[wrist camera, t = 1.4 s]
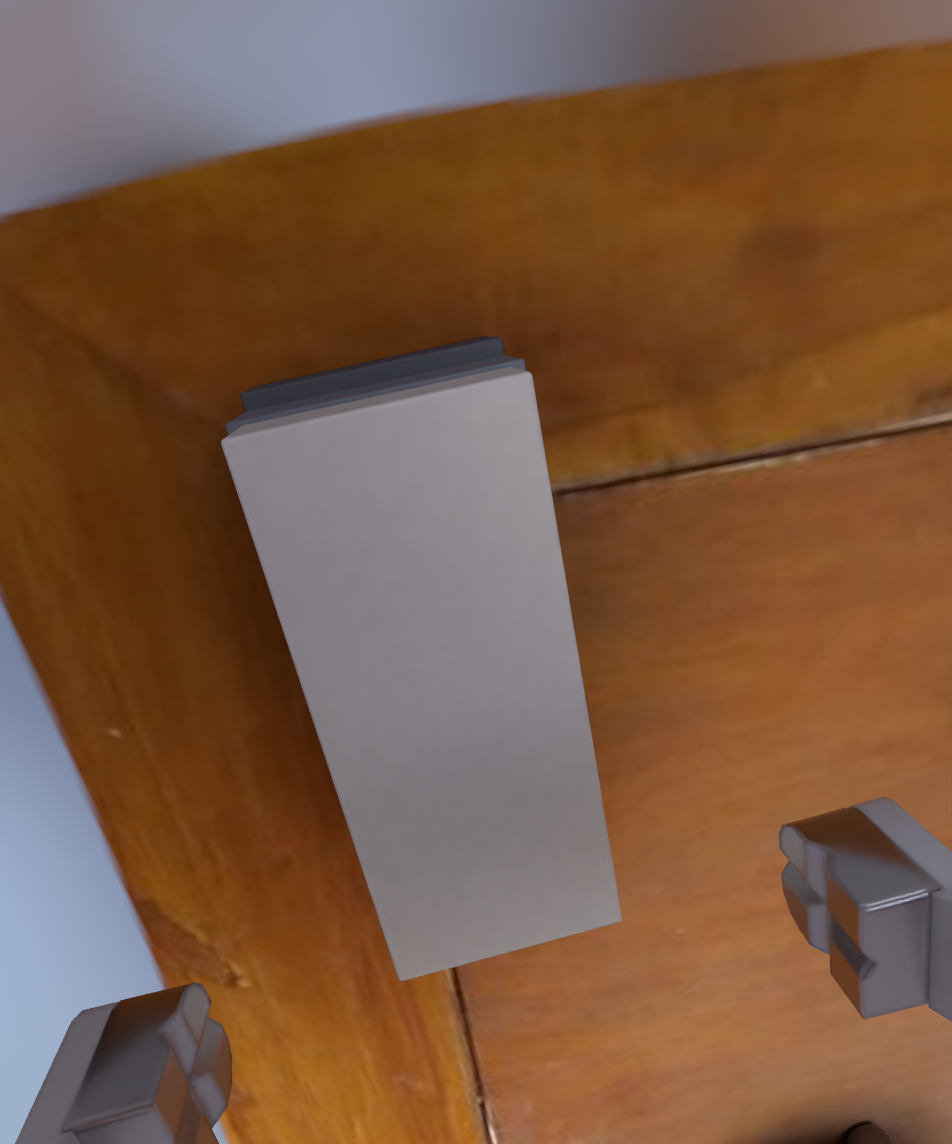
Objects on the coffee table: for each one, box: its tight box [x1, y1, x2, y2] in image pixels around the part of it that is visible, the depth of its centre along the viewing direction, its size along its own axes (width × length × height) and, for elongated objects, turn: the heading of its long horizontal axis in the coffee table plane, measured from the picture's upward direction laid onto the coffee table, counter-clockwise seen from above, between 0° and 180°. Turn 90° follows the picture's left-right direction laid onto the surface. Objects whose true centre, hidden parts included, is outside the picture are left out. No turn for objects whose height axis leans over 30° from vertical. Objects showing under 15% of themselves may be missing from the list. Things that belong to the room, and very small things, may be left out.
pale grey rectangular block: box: [221, 367, 622, 981], centre depth 15 cm, size 13×6×2 cm, turn 11°
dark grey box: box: [226, 336, 526, 435], centre depth 18 cm, size 14×6×4 cm, turn 11°
